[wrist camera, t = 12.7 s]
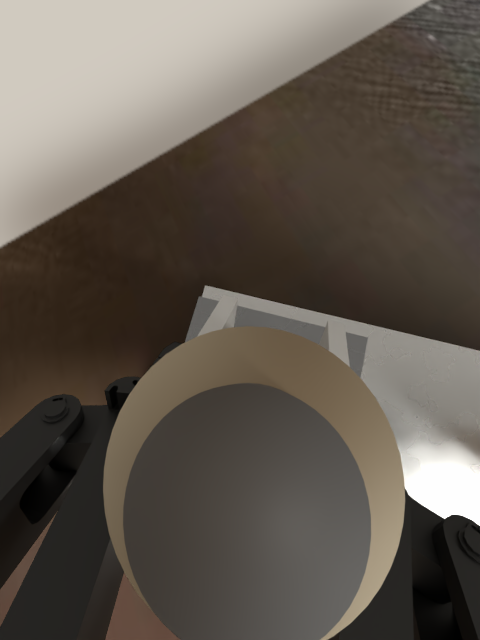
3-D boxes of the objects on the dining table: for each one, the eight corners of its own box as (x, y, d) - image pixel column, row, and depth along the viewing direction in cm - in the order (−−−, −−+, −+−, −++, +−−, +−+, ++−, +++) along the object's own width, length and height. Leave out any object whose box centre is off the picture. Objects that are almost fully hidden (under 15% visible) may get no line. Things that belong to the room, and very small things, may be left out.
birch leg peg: (300, 376, 18) (489, 361, 3) (284, 447, 17) (433, 889, 2) (233, 358, 18) (123, 272, 4) (215, 426, 18) (-26, 673, 3)
